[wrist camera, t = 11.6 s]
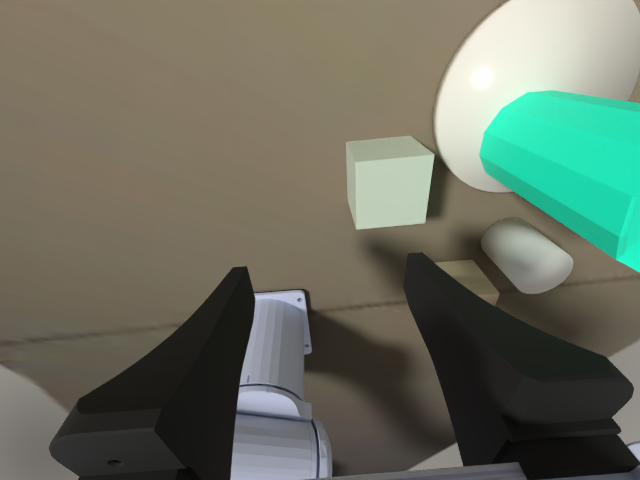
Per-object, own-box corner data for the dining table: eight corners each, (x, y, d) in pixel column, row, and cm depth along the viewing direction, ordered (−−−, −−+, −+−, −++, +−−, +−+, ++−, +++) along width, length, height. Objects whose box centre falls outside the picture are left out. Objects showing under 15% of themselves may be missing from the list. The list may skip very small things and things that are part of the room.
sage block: (404, 194, 22) (425, 223, 19) (347, 200, 22) (356, 229, 19) (410, 135, 20) (434, 154, 16) (345, 141, 20) (355, 162, 16)
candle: (547, 65, 17) (909, 85, 7) (587, 133, 19) (900, 223, 9) (461, 145, 19) (634, 247, 9) (506, 197, 21) (683, 324, 11)
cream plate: (573, 180, 22) (586, 186, 21) (421, 192, 22) (426, 198, 21) (667, -28, 16) (692, -33, 15) (450, -11, 16) (460, -16, 15)
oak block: (462, 294, 29) (485, 330, 25) (417, 297, 29) (434, 334, 25) (472, 258, 26) (499, 293, 23) (423, 263, 26) (443, 298, 23)
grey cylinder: (519, 253, 26) (560, 291, 22) (475, 257, 26) (508, 296, 22) (534, 215, 24) (583, 249, 20) (487, 219, 24) (526, 254, 20)
